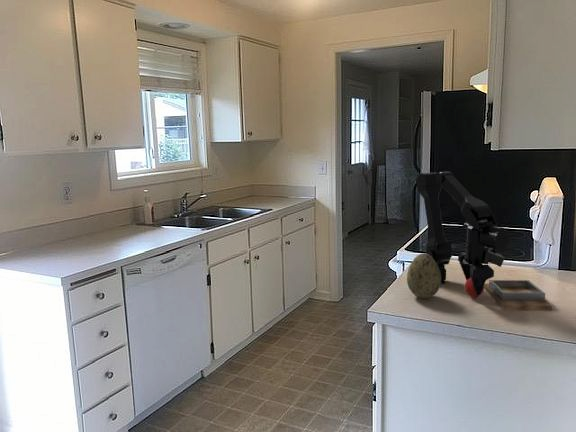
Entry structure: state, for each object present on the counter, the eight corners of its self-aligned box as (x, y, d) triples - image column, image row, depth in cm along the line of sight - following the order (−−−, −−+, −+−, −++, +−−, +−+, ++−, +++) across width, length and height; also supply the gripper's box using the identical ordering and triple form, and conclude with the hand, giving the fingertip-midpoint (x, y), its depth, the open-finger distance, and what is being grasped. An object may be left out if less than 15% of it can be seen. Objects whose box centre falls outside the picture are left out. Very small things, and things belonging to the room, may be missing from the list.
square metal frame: (502, 300, 146) (502, 293, 145) (489, 287, 158) (489, 280, 157) (544, 301, 144) (545, 293, 144) (528, 287, 157) (528, 280, 156)
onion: (467, 293, 157) (468, 270, 155) (485, 297, 153) (486, 273, 152) (461, 298, 152) (462, 275, 151) (479, 302, 149) (481, 278, 147)
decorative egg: (401, 299, 153) (402, 255, 150) (413, 289, 162) (414, 247, 159) (434, 306, 147) (435, 259, 144) (444, 295, 156) (446, 251, 153)
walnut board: (503, 309, 142) (503, 305, 142) (483, 287, 162) (483, 283, 162) (552, 310, 141) (552, 305, 141) (525, 287, 160) (525, 283, 160)
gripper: (513, 250, 139) (510, 300, 142) (492, 236, 158) (490, 280, 160) (474, 250, 140) (472, 300, 143) (458, 236, 159) (456, 280, 162)
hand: (473, 289), depth 152 cm, fingers open, 9 cm apart
